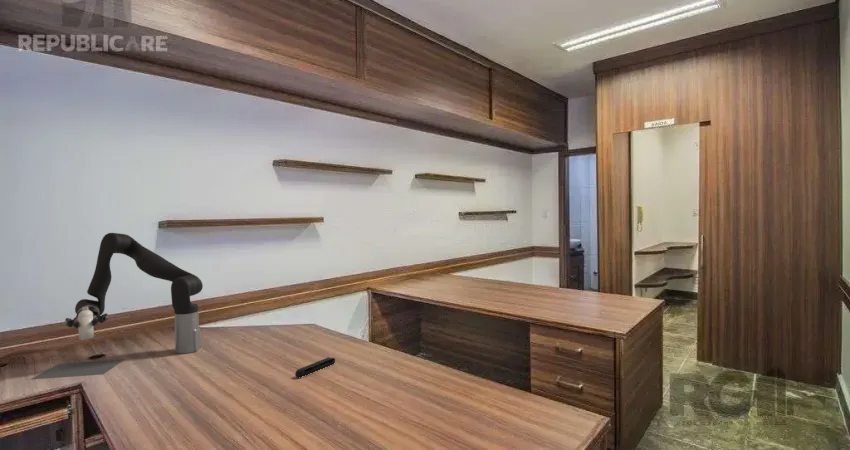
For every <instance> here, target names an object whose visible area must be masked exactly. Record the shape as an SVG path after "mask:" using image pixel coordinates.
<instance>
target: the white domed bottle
mask: <svg viewBox="0 0 850 450" xmlns="http://www.w3.org/2000/svg"><path fill="white" fill-rule="evenodd" d="M78 325H79V327H78V328H77V329H78V340H80V341H81V340H82V341H84V340H90V339H93V338H95V334H94V332H95V331H94V329H95V328H94V326H93V313H92V312H91V311H90V310H88V307H83V308H82V311H81V312H80V313H79V314H78Z"/></svg>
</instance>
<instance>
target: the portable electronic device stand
mask: <svg viewBox="0 0 850 450" xmlns="http://www.w3.org/2000/svg"><path fill="white" fill-rule="evenodd" d="M334 363H335V364H336V358H334V357H330V356H328V357H326V358H323V359H321V360H318V361H317V362H316V361H315V362H313V363H310V364H308V365H305V366H303V367H301V368H298V369H297V370H296V371H295V373H294V375H295V377H296V376H297V377H296V378H299V377H302V376H305V375H308V374H310V373H312V374H314V373H313V372H315V371H317V372H319V371H318V370H320V369H322V370H324V369H326V368H325V367H327V368H329V367H331V366H330V365H332V364H334ZM335 364H334V365H335ZM328 366H329V367H328ZM332 366H333V365H332ZM323 368H324V369H323ZM320 371H321V370H320ZM315 373H316V372H315ZM310 375H311V374H310ZM308 376H309V375H308ZM305 377H306V376H305Z"/></svg>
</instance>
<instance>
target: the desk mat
mask: <svg viewBox="0 0 850 450" xmlns="http://www.w3.org/2000/svg"><path fill="white" fill-rule="evenodd" d="M125 360H126V358H125V359H124V358H123V359H121V358H120V359H107V360H92V361H79V362H77V361H75V362H61V363H60V362H59V363H57V364H56V365H53V366H52V367H51V368H48V369H47V370H45V371H42V372H41V373H39V374H37V375H35V376H33V377H32V378H30V379H29V380H43V379H44V380H45V379H56V378H57V379H58V378H71V377H73V378H74V377H85V376H86V377H87V376H88V377H89V376H99V375H100V376H101V375H105V374H106V373H108V372H109V371H110V370H112V369H113V368H116V366H118V365H119V364H120V363H123V362H125Z"/></svg>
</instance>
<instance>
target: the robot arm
mask: <svg viewBox="0 0 850 450" xmlns="http://www.w3.org/2000/svg"><path fill="white" fill-rule="evenodd" d="M114 254H119V255H120V254H121V255H124V256H127V257H129V258H131V259H133V260H134V262H135V264H136V267H137V268H138V269H139V270H140V271H142V272H144V273H145V274H146V275H148V276H149V277H153V278H156V279H161V280H164V281H168V282H171V286H170V294H171V295H170V297H171V304H172V305H171V306H172V308H173V313H174V345H175V346H174V347H175V353H176V354H190V353H194V352H195V353H196V352H198V351H199V350H200V349H201V348H202V345H201V344H202V343H201V341H202V340H201V339H202V338H201V336H202V335H201V326H199V322H200V321H199V305H198V304H197V303H192V302H191V297H192V296H195V295H198V294H199V293H201V292H202V290H203V288H204V287H203V282H202V280H201V279H200V278H199V277H198V276H197V275H195V274H193V273H191V272H189V271H186V270H184V269H183V268H180V267H178V266H177V265H175V264H174V263H172V262H170V261H168V260H167V259H165V257H162V256H161V255H159V254H157V253H156V252H154V251H152V250H151V249H148V248H147V247H145V246H143V244H141V243H139V242H138V241H137V240H135V238H134V237H131V236H130V235H129V234H126V233H118V232H108V233H106V234H104V236H102V239H101V242H100V244H99V249H98V254H97V257H96V258H97V259H96V264H95V269H94V272H93V273H94V274H93V276H92V278H91V281H90V283H89V286H88V287H87V291H86V293H87V294H88V295H89V296H92V297H94V298H96V300H93V299H87V298H82V299H80V300H79V301H77V303H76V304H75V307H74V311H75V312H74V313H75V314H76V316H75V317H74V318H69V317H66V318H65V321H64V322H65V326H67V327H69V328H75V329H78V327H79V325H78V314H79V313H80V312H81V311H82V308H83V307H88V310H90V311H91V312H92V313H93V327H94V326H96V325H98V323H99V324H103V323H105V322H106V321H107V320H108V319H109V315H108V313H104V312H105V307H106V306H105V304H106V303H105V301H106V295H107V292H108V290H109V287H110V285H111V282H112V271H111V259H112V257H113V255H114Z"/></svg>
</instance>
